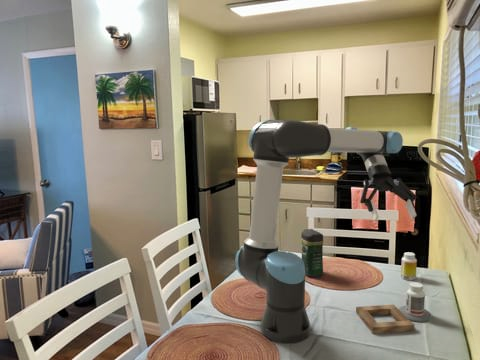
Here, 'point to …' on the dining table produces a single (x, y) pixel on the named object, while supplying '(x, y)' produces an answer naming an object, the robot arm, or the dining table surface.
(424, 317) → the coaster
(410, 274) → the supplement bottle
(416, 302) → the pill bottle
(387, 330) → the pocket
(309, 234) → the coffee jar
